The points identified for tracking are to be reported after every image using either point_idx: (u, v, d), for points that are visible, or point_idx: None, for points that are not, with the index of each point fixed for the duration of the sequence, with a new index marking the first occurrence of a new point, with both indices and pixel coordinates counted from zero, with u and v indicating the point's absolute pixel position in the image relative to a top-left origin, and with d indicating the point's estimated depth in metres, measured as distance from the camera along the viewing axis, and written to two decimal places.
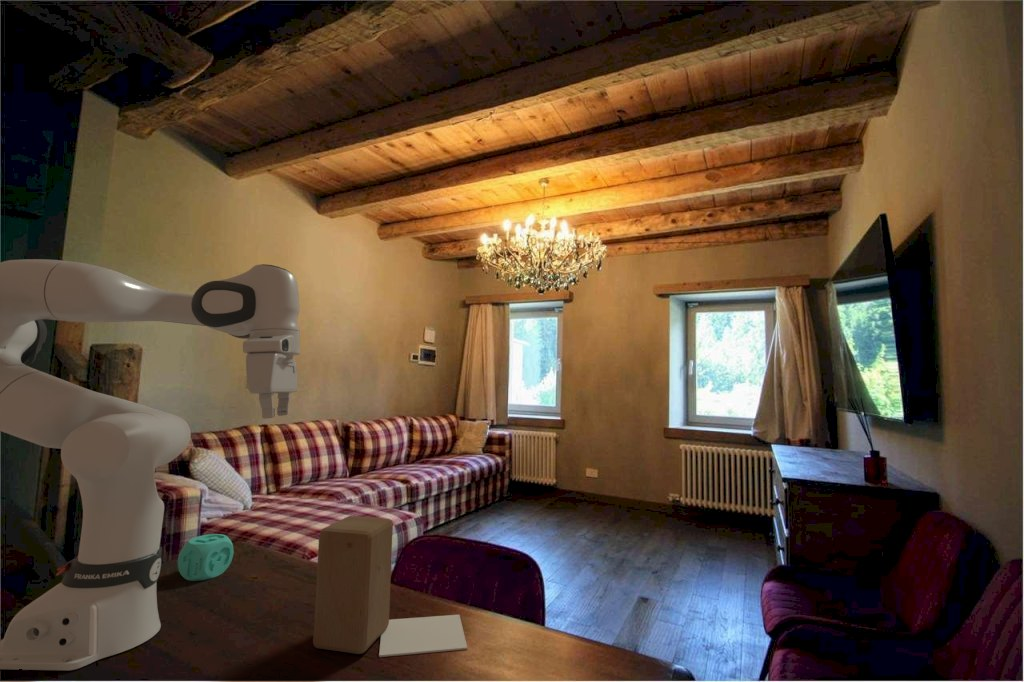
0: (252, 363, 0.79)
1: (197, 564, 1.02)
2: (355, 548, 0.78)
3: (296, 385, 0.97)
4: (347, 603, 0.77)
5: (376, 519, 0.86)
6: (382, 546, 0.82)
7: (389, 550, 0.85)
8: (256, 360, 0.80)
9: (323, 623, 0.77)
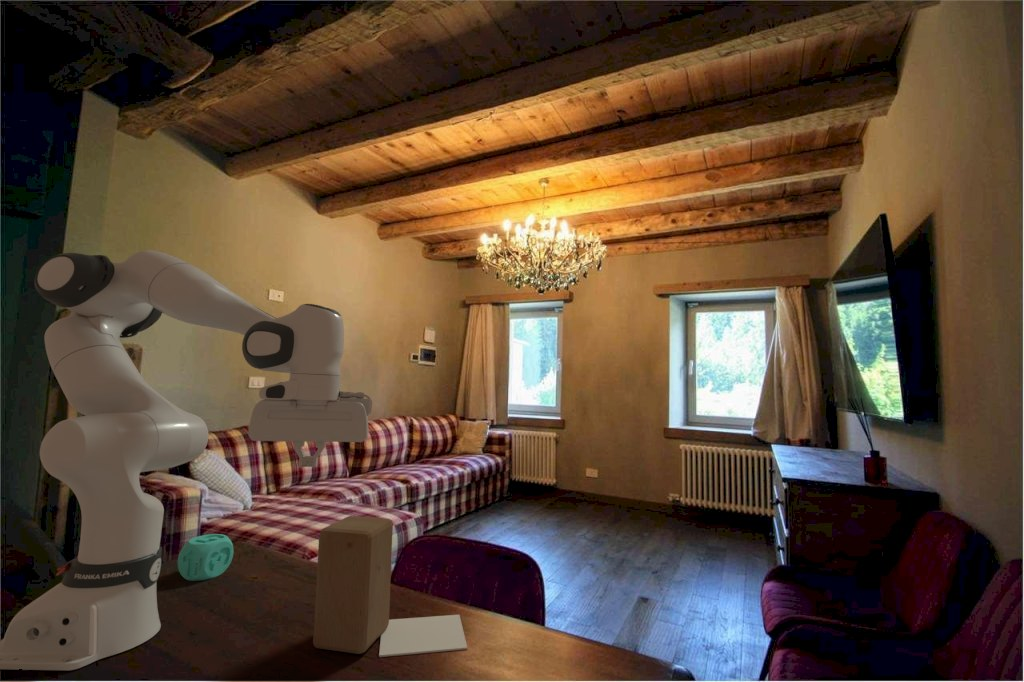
0: None
1: (197, 564, 1.02)
2: (355, 548, 0.78)
3: (358, 434, 0.83)
4: (347, 603, 0.77)
5: (376, 519, 0.86)
6: (382, 546, 0.82)
7: (389, 550, 0.85)
8: None
9: (323, 623, 0.77)
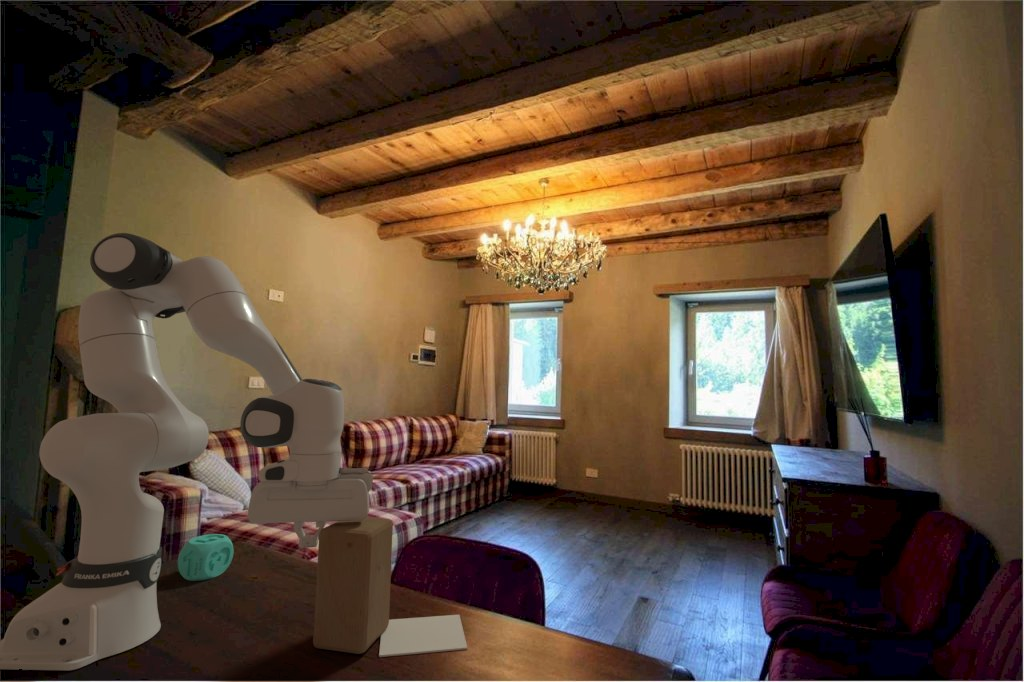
0: None
1: (197, 564, 1.02)
2: (355, 548, 0.78)
3: (359, 512, 0.82)
4: (347, 603, 0.77)
5: (376, 519, 0.86)
6: (382, 546, 0.82)
7: (389, 550, 0.85)
8: None
9: (323, 622, 0.77)
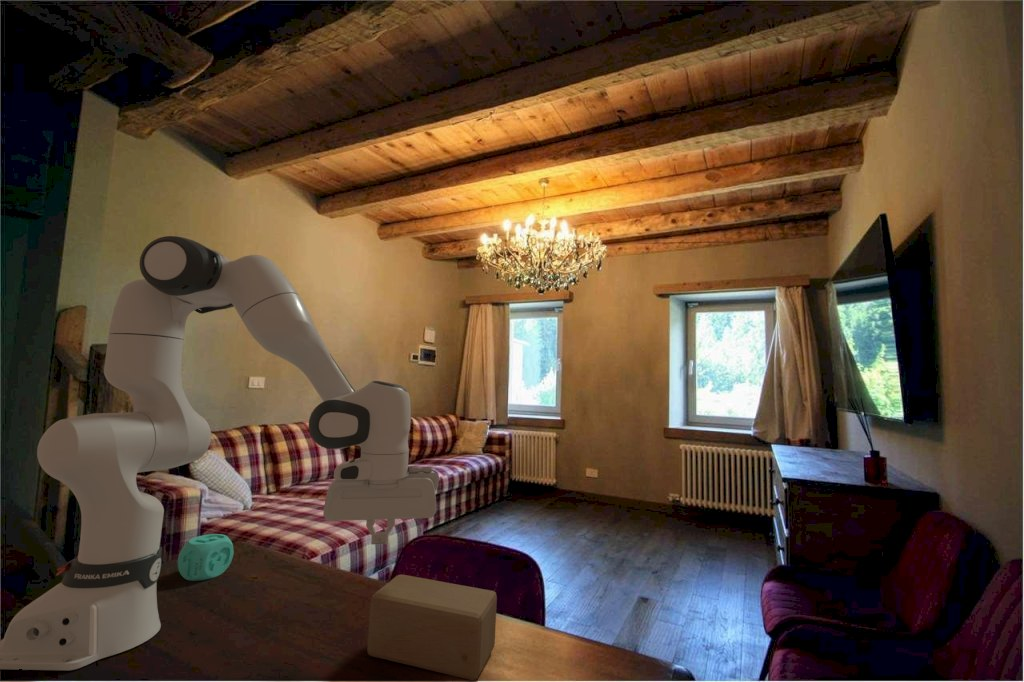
0: None
1: (197, 564, 1.02)
2: (461, 664, 0.71)
3: (427, 510, 0.85)
4: (410, 646, 0.73)
5: (493, 638, 0.78)
6: None
7: None
8: None
9: (391, 614, 0.75)
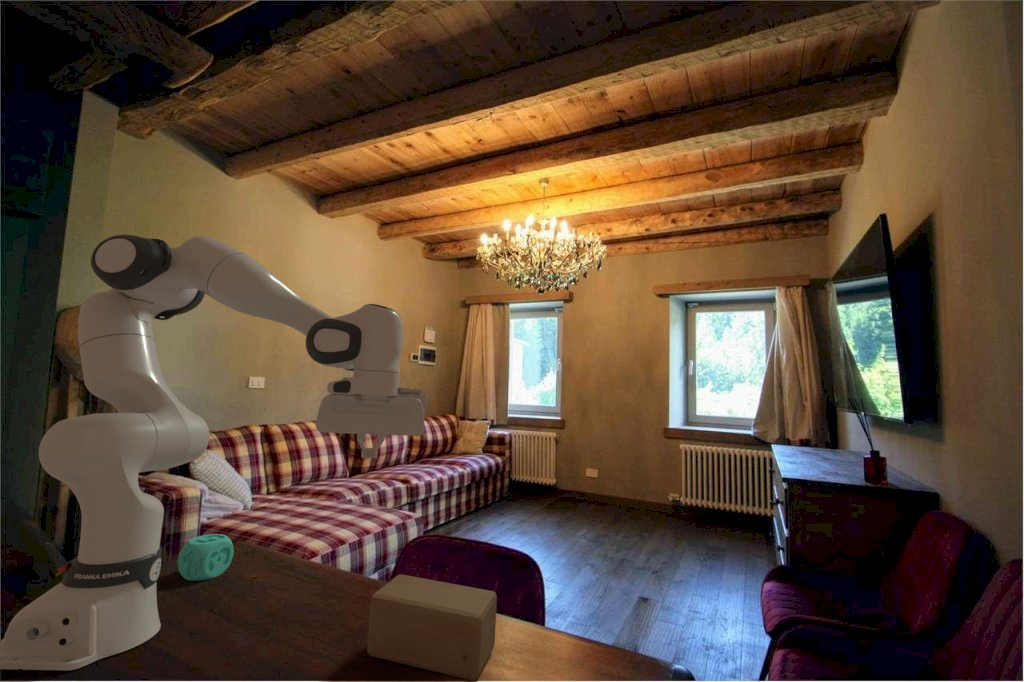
0: None
1: (197, 564, 1.02)
2: (461, 665, 0.71)
3: (416, 428, 0.88)
4: (409, 646, 0.73)
5: (493, 638, 0.78)
6: None
7: None
8: None
9: (391, 614, 0.75)
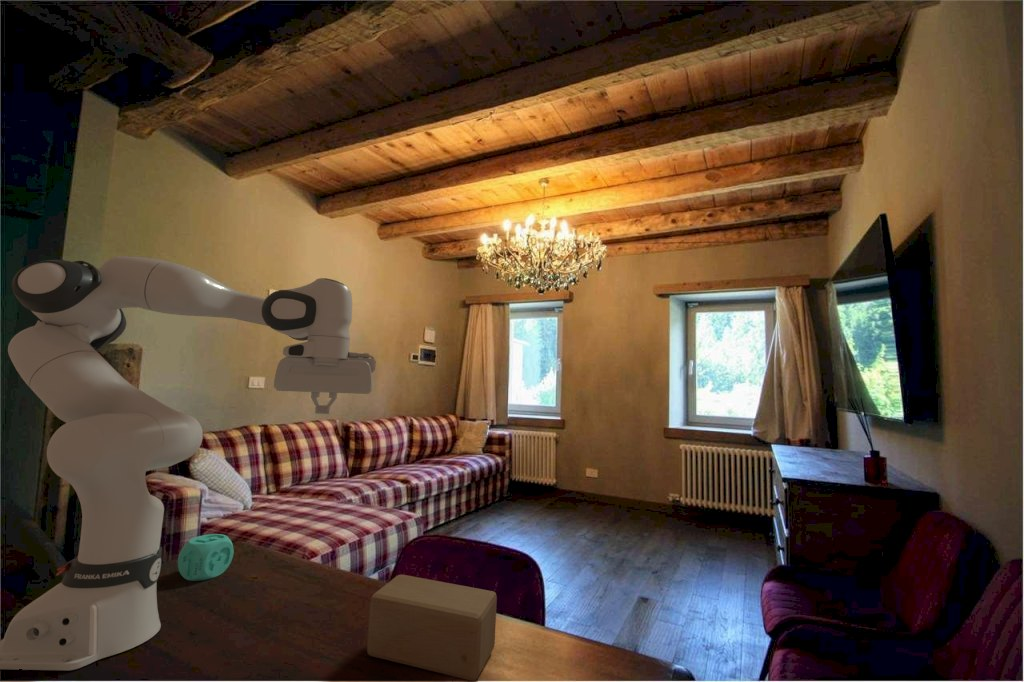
0: None
1: (197, 564, 1.02)
2: (461, 665, 0.71)
3: (364, 387, 1.00)
4: (409, 646, 0.73)
5: (493, 638, 0.78)
6: None
7: None
8: None
9: (391, 614, 0.75)
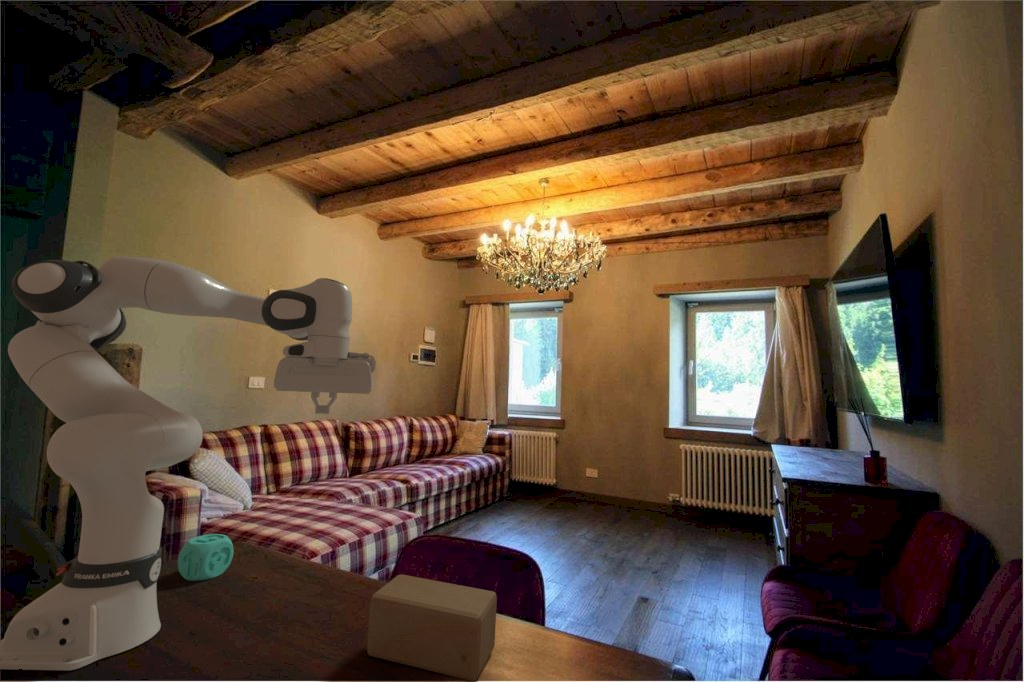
0: None
1: (197, 564, 1.02)
2: (461, 665, 0.71)
3: (364, 387, 1.00)
4: (409, 646, 0.73)
5: (493, 638, 0.78)
6: None
7: None
8: None
9: (391, 614, 0.75)
